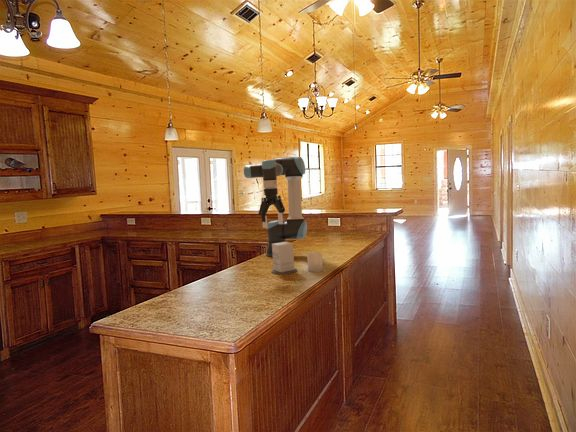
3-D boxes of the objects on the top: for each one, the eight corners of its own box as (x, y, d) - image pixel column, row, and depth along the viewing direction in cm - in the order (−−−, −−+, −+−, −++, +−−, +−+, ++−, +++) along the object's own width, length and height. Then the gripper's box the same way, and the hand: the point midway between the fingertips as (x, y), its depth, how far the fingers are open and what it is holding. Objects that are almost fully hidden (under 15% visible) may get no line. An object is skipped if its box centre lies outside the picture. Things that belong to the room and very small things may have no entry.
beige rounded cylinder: (307, 269, 237) (306, 253, 237) (321, 268, 238) (320, 252, 237) (308, 272, 229) (308, 256, 229) (323, 271, 230) (322, 255, 229)
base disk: (271, 269, 242) (271, 268, 242) (295, 267, 243) (295, 266, 243) (271, 275, 228) (271, 273, 228) (297, 273, 229) (297, 271, 229)
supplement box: (287, 267, 242) (285, 241, 240) (295, 270, 234) (293, 243, 233) (273, 269, 238) (271, 243, 236) (280, 272, 230) (278, 245, 228)
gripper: (260, 189, 224) (263, 229, 226) (289, 186, 243) (292, 222, 246) (250, 189, 229) (253, 229, 231) (279, 186, 248) (281, 222, 250)
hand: (273, 225), depth 238 cm, fingers open, 13 cm apart
